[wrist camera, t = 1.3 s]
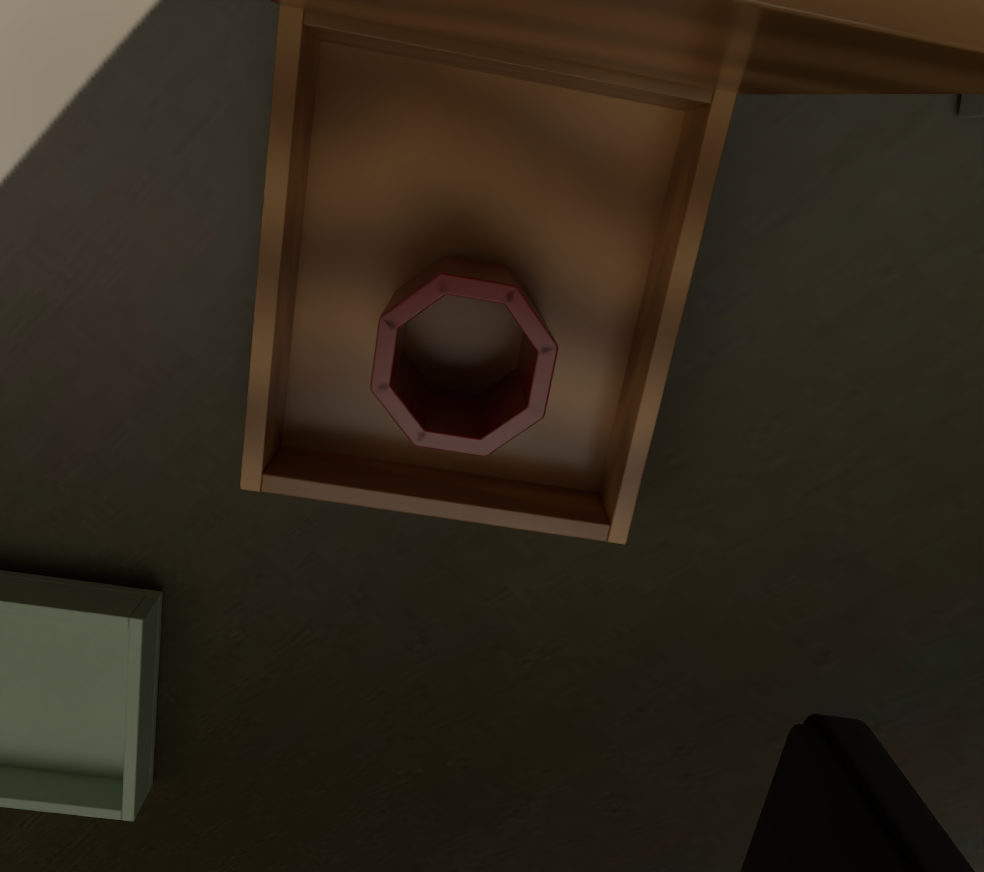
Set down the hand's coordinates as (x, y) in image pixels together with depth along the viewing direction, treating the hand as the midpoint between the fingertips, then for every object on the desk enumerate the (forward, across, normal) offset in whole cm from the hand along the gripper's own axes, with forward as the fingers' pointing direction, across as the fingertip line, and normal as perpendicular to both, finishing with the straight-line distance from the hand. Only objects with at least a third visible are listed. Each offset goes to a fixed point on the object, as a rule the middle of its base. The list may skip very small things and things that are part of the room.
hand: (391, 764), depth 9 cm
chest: (+26, -1, -2) cm, 26 cm away
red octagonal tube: (+25, -1, 0) cm, 25 cm away
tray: (+26, +18, +20) cm, 37 cm away
